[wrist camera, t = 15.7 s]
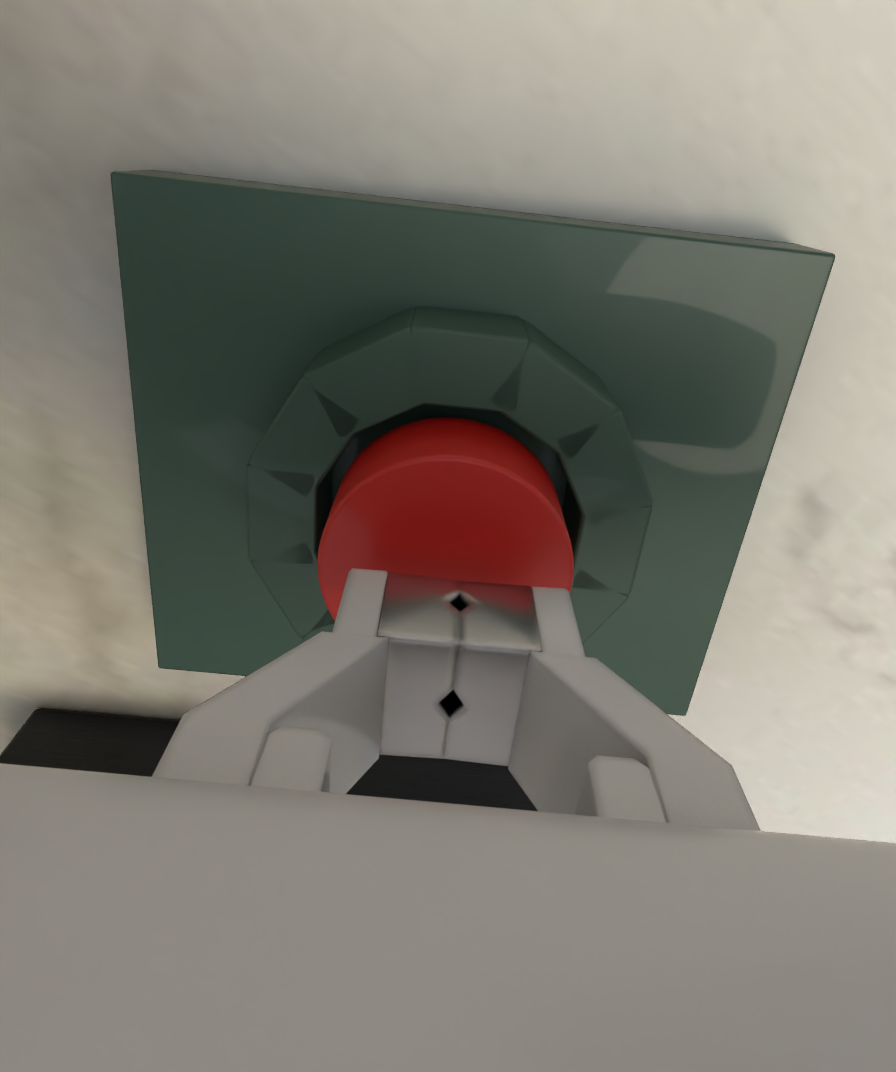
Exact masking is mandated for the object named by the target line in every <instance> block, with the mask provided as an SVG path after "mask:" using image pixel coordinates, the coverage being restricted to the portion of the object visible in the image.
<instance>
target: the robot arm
mask: <svg viewBox="0 0 896 1072" xmlns="http://www.w3.org/2000/svg"><path fill="white" fill-rule="evenodd" d="M379 755H394V756H410V757H425V758H441V759H450V760H459V761H467V762H476V763H484V764H493V765H501V766H509V767H508V770H509V771H510V773H511V774H512V775H513V777H514V778H515V780H516V781H517V782H518V784H519V785H520V787H521V788H522V789H523V791H524V792H525V793H526V795H527V796H528V798H529V799H530V800H531V802H532V803H533V805H534V806H535V807H536V809H537V810H538V811H528V810H517V809H506V808H495V807H484V806H472V805H461V804H450V803H439V802H428V801H416V800H405V799H394V798H383V797H372V796H360V795H349V794H346V793H347V792H348V791H349V790H350V789H351V788H352V787H353V785H354V784H355V783H356V782H357V781H358V780H359V779H360V778H361V777H362V776H363V775H364V774H365V772H366V771H367V770H368V769H369V768H370V767H371V766H372V765H373V764H374V763H375V762H376V761H377V760H378V758H379ZM0 1072H896V843H888V842H877V841H866V840H854V839H843V838H832V837H821V836H809V835H798V834H787V833H776V832H764V831H761V830H760V828H759V826H758V824H757V821H756V819H755V817H754V815H753V812H752V810H751V808H750V805H749V803H748V801H747V799H746V796H745V794H744V792H743V790H742V787H741V785H740V783H739V780H738V778H737V776H736V774H735V771H734V769H733V767H732V765H731V764H729V763H728V762H727V761H725V760H724V759H723V758H722V757H720V756H719V755H718V754H717V753H715V752H714V751H713V750H712V749H710V748H709V747H708V746H707V745H705V744H704V743H703V742H701V741H700V740H699V739H698V738H696V737H695V736H694V735H693V734H691V733H690V732H689V731H688V730H686V729H685V728H684V727H683V726H681V725H680V724H679V723H677V722H676V721H675V720H674V719H672V718H671V717H670V716H669V715H667V714H666V713H665V712H664V711H662V710H661V709H660V708H659V707H657V706H656V705H655V704H653V703H652V702H651V701H650V700H648V699H647V698H646V697H645V696H643V695H642V694H641V693H640V692H638V691H637V690H636V689H635V688H633V687H632V686H631V685H629V684H628V683H627V682H626V681H624V680H623V679H622V678H621V677H619V676H618V675H617V674H616V673H614V672H613V671H612V670H611V669H609V668H608V667H607V666H606V665H604V664H603V663H602V662H600V661H599V660H598V659H597V658H593V657H585V653H584V649H583V645H582V641H581V637H580V633H579V630H578V626H577V622H576V618H575V614H574V610H573V606H572V602H571V598H570V594H569V591H568V590H567V589H565V588H552V587H535V586H525V585H511V584H498V583H485V582H471V581H460V580H455V579H447V578H438V577H430V576H421V575H413V574H404V573H396V572H389V573H387V571H383V570H370V569H358V568H352V569H351V570H350V571H349V573H348V577H347V581H346V584H345V588H344V591H343V595H342V599H341V602H340V606H339V609H338V613H337V617H336V620H335V624H334V627H333V631H332V632H320V633H318V634H317V635H315V636H313V637H312V638H310V639H308V640H307V641H305V642H303V643H302V644H300V645H298V646H297V647H295V648H293V649H292V650H290V651H288V652H287V653H285V654H283V655H282V656H280V657H278V658H277V659H275V660H273V661H272V662H270V663H268V664H267V665H265V666H263V667H262V668H260V669H258V670H257V671H255V672H253V673H252V674H250V675H248V676H247V677H245V678H243V679H242V680H240V681H238V682H237V683H235V684H233V685H232V686H230V687H228V688H227V689H225V690H223V691H222V692H220V693H218V694H217V695H215V696H213V697H212V698H210V699H208V700H206V701H205V702H203V703H201V704H200V705H198V706H196V707H195V708H193V709H191V710H190V711H188V712H186V713H185V714H183V716H182V718H181V720H180V722H179V724H178V726H177V728H176V730H175V732H174V734H173V736H172V738H171V740H170V742H169V744H168V746H167V748H166V750H165V752H164V754H163V756H162V758H161V760H160V761H159V763H158V765H157V767H156V769H155V771H154V773H153V775H152V777H148V776H136V775H125V774H114V773H103V772H92V771H80V770H69V769H58V768H47V767H36V766H24V765H13V764H2V763H0Z"/></svg>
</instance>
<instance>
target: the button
mask: <svg viewBox="0 0 896 1072" xmlns="http://www.w3.org/2000/svg"><path fill="white" fill-rule="evenodd" d="M317 567H318V579H319V584H320V589H321V593H322V595H323V598H324V601H325V604H326V606H327V608H328V610H329V611H330V613H331V615H332V617H333V619H334V620H336V617H337V613H338V609H339V606H340V602H341V599H342V595H343V591H344V588H345V584H346V581H347V577H348V573H349V571H350V570H351V569H352V568H358V569H370V570H383V571H387V573H389V572H396V573H404V574H413V575H421V576H430V577H438V578H447V579H455V580H460V581H471V582H485V583H498V584H511V585H525V586H535V587H552V588H565V589H567V590H568V591H569V594H570V591H571V588H572V581H573V574H574V558H573V552H572V546H571V541H570V538H569V534H568V531H567V527H566V524H565V520H564V517H563V513H562V510H561V506H560V503H559V500H558V496H557V493H556V490H555V487H554V484H553V482H552V480H551V478H550V476H549V474H548V472H547V471H546V469H545V468H544V466H543V465H542V463H541V462H540V461H539V459H538V458H537V457H536V456H535V455H534V454H533V453H532V452H531V451H530V450H529V449H528V448H527V447H526V446H525V445H523V444H522V443H521V442H520V441H519V440H517V439H516V438H514V437H513V436H511V435H509V434H508V433H506V432H504V431H502V430H500V429H498V428H496V427H493V426H491V425H488V424H485V423H482V422H478V421H475V420H469V419H463V418H450V417H440V418H428V419H423V420H419V421H414V422H410V423H408V424H405V425H402V426H399V427H397V428H395V429H393V430H391V431H389V432H387V433H385V434H383V435H382V436H380V437H379V438H377V439H376V440H375V441H373V442H372V443H370V444H369V445H368V446H367V447H366V448H365V449H364V450H363V451H362V452H361V453H360V454H359V455H358V456H357V457H356V459H355V460H354V461H353V462H352V464H351V465H350V467H349V468H348V470H347V472H346V473H345V475H344V477H343V479H342V482H341V484H340V486H339V489H338V492H337V494H336V497H335V500H334V503H333V505H332V508H331V511H330V513H329V516H328V519H327V522H326V524H325V527H324V530H323V533H322V536H321V540H320V544H319V549H318V559H317Z"/></svg>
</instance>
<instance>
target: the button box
mask: <svg viewBox="0 0 896 1072" xmlns="http://www.w3.org/2000/svg"><path fill="white" fill-rule="evenodd" d="M111 184H112V195H113V205H114V215H115V226H116V236H117V246H118V256H119V267H120V277H121V287H122V297H123V308H124V318H125V328H126V338H127V349H128V359H129V369H130V380H131V390H132V400H133V410H134V421H135V431H136V441H137V451H138V462H139V472H140V482H141V493H142V503H143V513H144V523H145V534H146V544H147V554H148V564H149V575H150V585H151V595H152V605H153V616H154V626H155V636H156V647H157V657H158V667H159V668H164V669H175V670H186V671H197V672H208V673H219V674H230V675H241V676H248V675H250V674H252V673H253V672H255V671H257V670H258V669H260V668H262V667H263V666H265V665H267V664H268V663H270V662H272V661H273V660H275V659H277V658H278V657H280V656H282V655H283V654H285V653H287V652H288V651H290V650H292V649H293V648H295V647H297V646H298V645H300V644H302V643H303V642H305V641H307V640H308V639H310V638H312V637H313V636H315V635H317V634H318V633H320V632H332V631H333V627H334V624H335V620H334V619H333V617H332V615H331V613H330V611H329V610H328V608H327V606H326V604H325V601H324V598H323V595H322V593H321V589H320V584H319V579H318V567H317V559H318V549H319V544H320V540H321V536H322V533H323V530H324V527H325V524H326V522H327V519H328V516H329V513H330V511H331V508H332V505H333V503H334V500H335V497H336V494H337V492H338V489H339V486H340V484H341V482H342V479H343V477H344V475H345V473H346V472H347V470H348V468H349V467H350V465H351V464H352V462H353V461H354V460H355V459H356V457H357V456H358V455H359V454H360V453H361V452H362V451H363V450H364V449H365V448H366V447H367V446H368V445H369V444H370V443H372V442H373V441H375V440H376V439H377V438H379V437H380V436H382V435H383V434H385V433H387V432H389V431H391V430H393V429H395V428H397V427H399V426H402V425H405V424H408V423H410V422H414V421H419V420H423V419H428V418H440V417H450V418H463V419H469V420H475V421H478V422H482V423H485V424H488V425H491V426H493V427H496V428H498V429H500V430H502V431H504V432H506V433H508V434H509V435H511V436H513V437H514V438H516V439H517V440H519V441H520V442H521V443H522V444H523V445H525V446H526V447H527V448H528V449H529V450H530V451H531V452H532V453H533V454H534V455H535V456H536V457H537V458H538V459H539V461H540V462H541V463H542V465H543V466H544V468H545V469H546V471H547V472H548V474H549V476H550V478H551V480H552V482H553V484H554V487H555V490H556V493H557V496H558V500H559V503H560V506H561V510H562V513H563V517H564V520H565V524H566V527H567V531H568V534H569V538H570V541H571V546H572V552H573V558H574V574H573V581H572V588H571V591H570V598H571V602H572V606H573V610H574V614H575V618H576V622H577V626H578V630H579V633H580V637H581V641H582V645H583V649H584V653H585V657H593V658H597V659H598V660H599V661H600V662H602V663H603V664H604V665H606V666H607V667H608V668H609V669H611V670H612V671H613V672H614V673H616V674H617V675H618V676H619V677H621V678H622V679H623V680H624V681H626V682H627V683H628V684H629V685H631V686H632V687H633V688H635V689H636V690H637V691H638V692H640V693H641V694H642V695H643V696H645V697H646V698H647V699H648V700H650V701H651V702H652V703H653V704H655V705H656V706H657V707H659V708H660V709H661V710H662V711H664V712H665V713H666V714H671V715H682V716H684V715H686V713H687V710H688V707H689V704H690V701H691V698H692V695H693V691H694V688H695V685H696V682H697V679H698V676H699V673H700V670H701V667H702V664H703V661H704V658H705V655H706V652H707V649H708V646H709V642H710V639H711V636H712V633H713V630H714V627H715V624H716V621H717V618H718V615H719V612H720V609H721V606H722V603H723V600H724V597H725V593H726V590H727V587H728V584H729V581H730V578H731V575H732V572H733V569H734V566H735V563H736V560H737V557H738V554H739V551H740V548H741V544H742V541H743V538H744V535H745V532H746V529H747V526H748V523H749V520H750V517H751V514H752V511H753V508H754V505H755V502H756V499H757V495H758V492H759V489H760V486H761V483H762V480H763V477H764V474H765V471H766V468H767V465H768V462H769V459H770V456H771V453H772V450H773V446H774V443H775V440H776V437H777V434H778V431H779V428H780V425H781V422H782V419H783V416H784V413H785V410H786V407H787V404H788V400H789V397H790V394H791V391H792V388H793V385H794V382H795V379H796V376H797V373H798V370H799V367H800V364H801V361H802V358H803V355H804V351H805V348H806V345H807V342H808V339H809V336H810V333H811V330H812V327H813V324H814V321H815V318H816V315H817V312H818V309H819V306H820V302H821V299H822V296H823V293H824V290H825V287H826V284H827V281H828V278H829V275H830V272H831V269H832V266H833V263H834V260H835V255H834V254H833V253H829V252H825V251H821V250H817V249H813V248H810V247H806V246H802V245H798V244H794V243H785V242H776V241H768V240H759V239H750V238H741V237H733V236H724V235H715V234H706V233H698V232H689V231H680V230H671V229H663V228H654V227H645V226H636V225H628V224H619V223H610V222H601V221H593V220H584V219H575V218H566V217H558V216H549V215H540V214H531V213H523V212H514V211H505V210H496V209H488V208H479V207H470V206H461V205H453V204H444V203H435V202H427V201H418V200H409V199H400V198H392V197H383V196H374V195H365V194H357V193H348V192H339V191H330V190H322V189H313V188H304V187H295V186H287V185H278V184H269V183H260V182H252V181H243V180H234V179H225V178H217V177H208V176H199V175H190V174H182V173H173V172H164V171H155V170H138V171H114V172H111Z"/></svg>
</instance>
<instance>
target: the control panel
mask: <svg viewBox="0 0 896 1072" xmlns="http://www.w3.org/2000/svg"><path fill="white" fill-rule="evenodd" d="M179 722H180V721H176V720H164V719H153V718H142V717H130V716H119V715H108V714H96V713H85V712H74V711H63V710H51V709H40V708H39V709H36V710H35V711H34V712H33V713H32V715H31V716H30V717H29V718H28V720H27V721H26V722H25V724H24V725H23V726H22V728H21V729H20V730H19V731H18V733H17V734H16V735H15V737H14V738H13V739H12V741H11V742H10V743H9V744H8V746H7V747H6V748H5V750H4V751H3V752H2V754H1V755H0V763H2V764H13V765H24V766H36V767H47V768H58V769H69V770H80V771H92V772H103V773H114V774H125V775H136V776H148V777H152V775H153V773H154V771H155V769H156V767H157V765H158V763H159V761H160V760H161V758H162V756H163V754H164V752H165V750H166V748H167V746H168V744H169V742H170V740H171V738H172V736H173V734H174V732H175V730H176V728H177V726H178V724H179ZM508 767H509V766H501V765H493V764H484V763H476V762H467V761H459V760H450V759H441V758H425V757H410V756H394V755H379V758H378V760H377V761H376V762H375V763H374V764H373V765H372V766H371V767H370V768H369V769H368V770H367V771H366V772H365V774H364V775H363V776H362V777H361V778H360V779H359V780H358V781H357V782H356V783H355V784H354V785H353V787H352V788H351V789H350V790H349V791H348V792H347V793H346V794H349V795H360V796H372V797H383V798H394V799H405V800H416V801H428V802H439V803H450V804H461V805H472V806H484V807H495V808H506V809H517V810H528V811H538V810H537V809H536V807H535V806H534V805H533V803H532V802H531V800H530V799H529V798H528V796H527V795H526V793H525V792H524V791H523V789H522V788H521V787H520V785H519V784H518V782H517V781H516V780H515V778H514V777H513V775H512V774H511V773H510V771H509V770H508Z"/></svg>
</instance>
